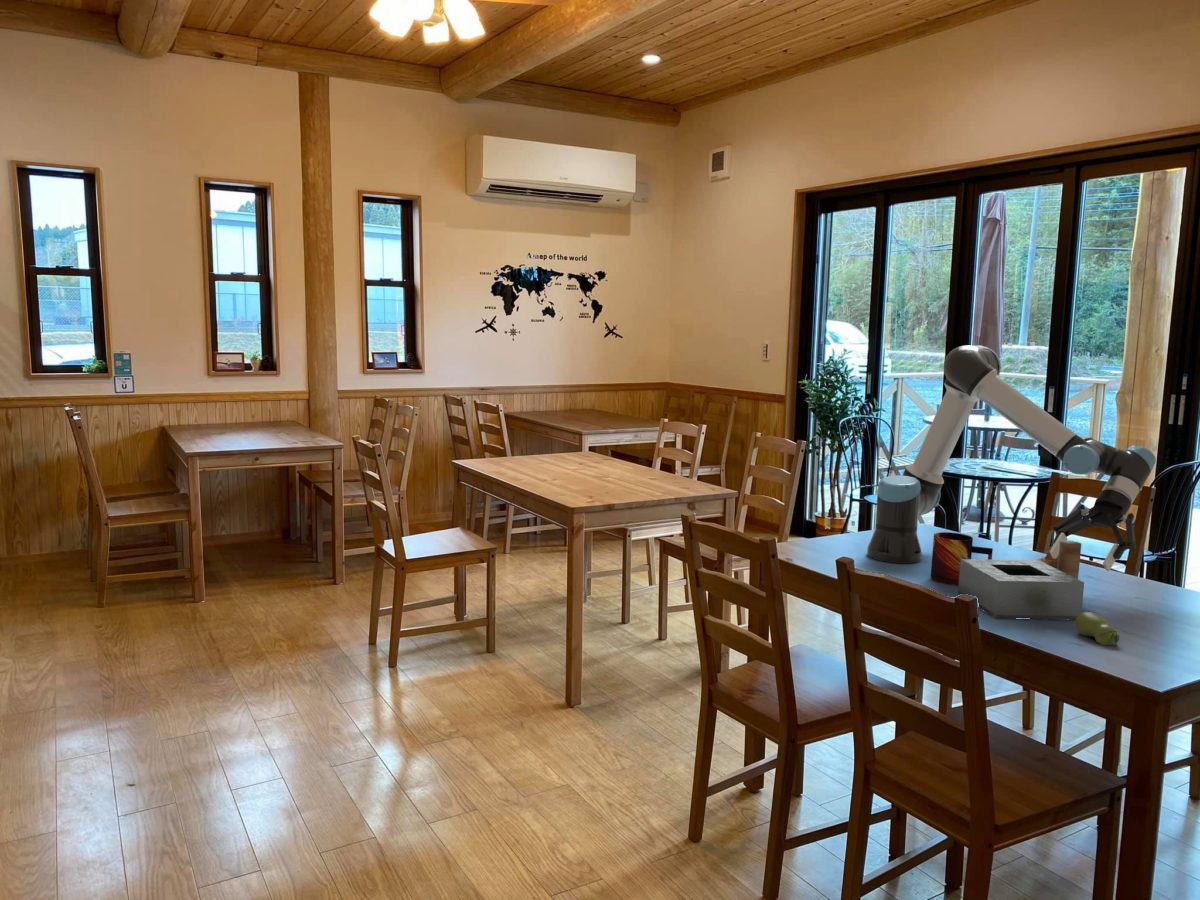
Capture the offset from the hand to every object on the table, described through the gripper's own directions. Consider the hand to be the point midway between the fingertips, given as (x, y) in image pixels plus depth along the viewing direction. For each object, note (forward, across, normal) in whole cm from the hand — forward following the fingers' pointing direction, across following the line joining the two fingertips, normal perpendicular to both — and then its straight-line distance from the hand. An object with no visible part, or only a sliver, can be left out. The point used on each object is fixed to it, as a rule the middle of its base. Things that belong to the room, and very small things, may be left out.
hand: (1078, 561), depth 224 cm
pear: (+26, -21, +13) cm, 36 cm away
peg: (+8, +1, -5) cm, 10 cm away
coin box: (+22, +2, +9) cm, 24 cm away
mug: (+16, +24, +4) cm, 29 cm away
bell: (-6, +17, -20) cm, 26 cm away
